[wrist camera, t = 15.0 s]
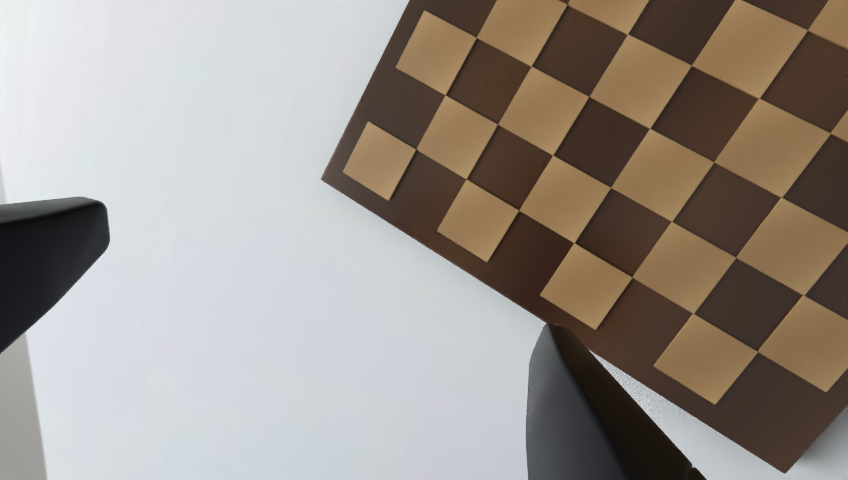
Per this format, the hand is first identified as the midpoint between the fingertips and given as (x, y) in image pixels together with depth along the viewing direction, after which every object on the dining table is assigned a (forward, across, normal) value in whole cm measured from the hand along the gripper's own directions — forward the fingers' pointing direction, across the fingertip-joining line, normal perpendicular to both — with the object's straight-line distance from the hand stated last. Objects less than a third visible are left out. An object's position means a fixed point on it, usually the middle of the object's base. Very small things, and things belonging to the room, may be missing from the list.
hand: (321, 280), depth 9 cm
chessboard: (+11, -9, -5) cm, 15 cm away
